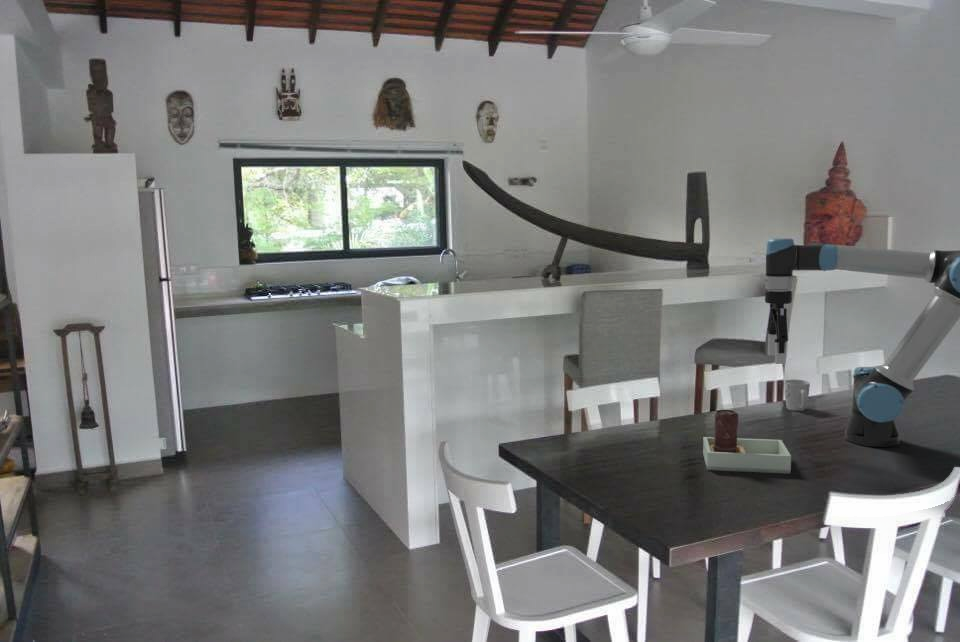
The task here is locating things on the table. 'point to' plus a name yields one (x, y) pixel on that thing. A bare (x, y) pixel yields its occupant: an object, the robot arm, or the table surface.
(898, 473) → the table surface
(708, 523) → the table surface
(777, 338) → the robot arm
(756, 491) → the table surface
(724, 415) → the can
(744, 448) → the walled box
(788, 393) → the mug
